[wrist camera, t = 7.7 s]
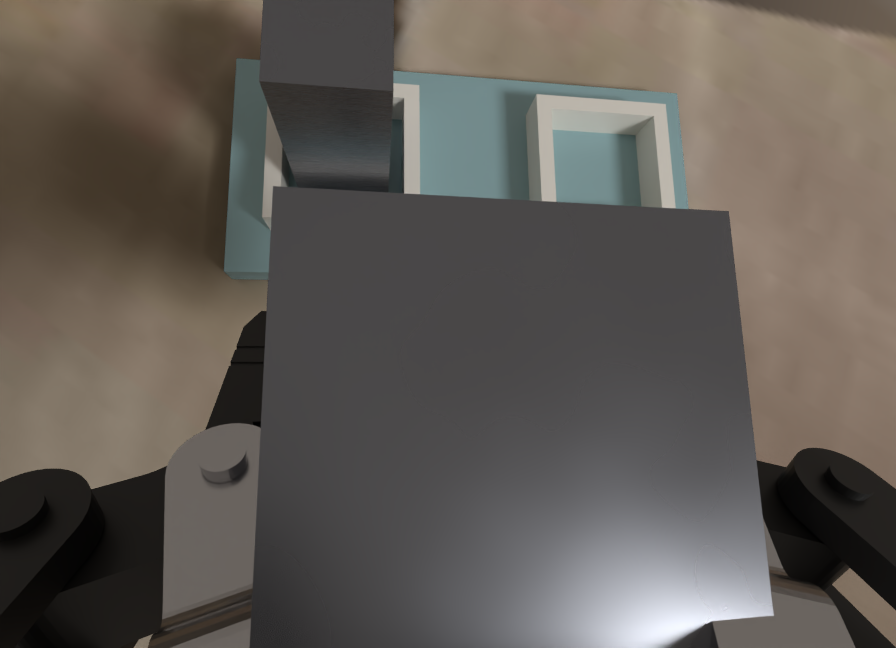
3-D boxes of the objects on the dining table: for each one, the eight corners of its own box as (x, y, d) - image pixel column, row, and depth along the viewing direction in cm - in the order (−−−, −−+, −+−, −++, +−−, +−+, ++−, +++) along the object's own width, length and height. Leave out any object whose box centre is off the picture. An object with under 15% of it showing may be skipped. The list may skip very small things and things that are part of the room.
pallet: (232, 279, 26) (210, 259, 23) (244, 76, 28) (225, 30, 25) (680, 287, 30) (719, 272, 26) (663, 107, 32) (697, 72, 28)
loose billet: (337, 499, 13) (244, 760, 4) (341, 330, 14) (274, 159, 4) (494, 493, 14) (783, 696, 4) (490, 332, 15) (725, 188, 5)
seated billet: (303, 203, 26) (259, 81, 16) (306, 122, 27) (265, -41, 17) (387, 207, 26) (393, 91, 17) (387, 127, 27) (393, -28, 17)
